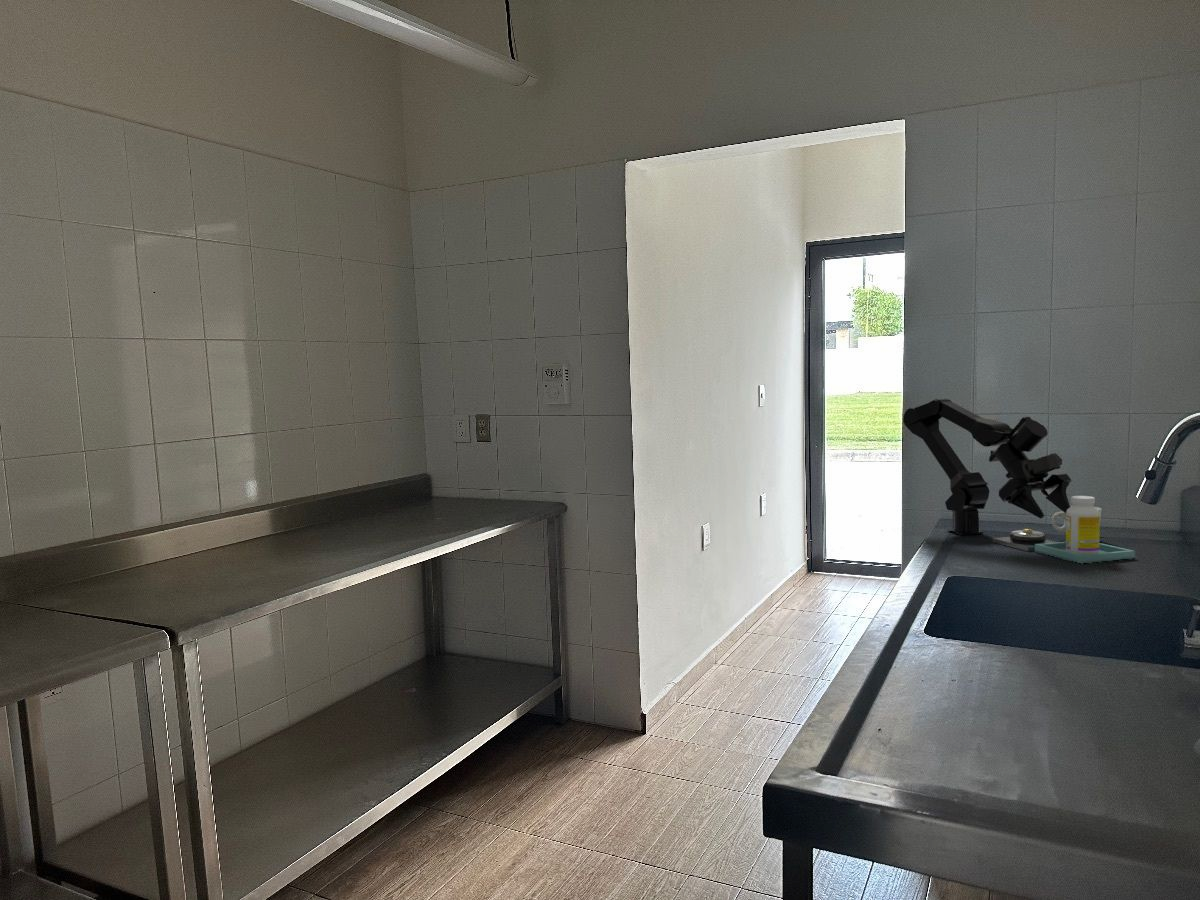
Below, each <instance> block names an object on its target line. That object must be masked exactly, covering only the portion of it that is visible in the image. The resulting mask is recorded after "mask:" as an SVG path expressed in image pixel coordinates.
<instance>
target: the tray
mask: <svg viewBox="0 0 1200 900" xmlns="http://www.w3.org/2000/svg"><path fill="white" fill-rule="evenodd" d="M1054 542H1055V543H1044V544H1035V551H1034V553H1038V554H1041V555H1045V556H1048V555H1050V556H1049V557H1052V556H1054V557H1053V558H1056V557H1057V558H1056V559H1060V558H1061V559H1060V560H1064V561H1068V562H1072V561H1073V562H1072V563H1075V562H1077V563H1076V564H1079V563H1081V565H1084V564H1083V563H1089V564H1092V563H1091V562H1099V563H1101V562H1100V561H1109V560H1117V559H1129V560H1132V559H1131V558H1136V550H1132V549H1129V548H1123V547H1120V546H1115V545H1110V544H1106V543H1103V542H1102V543H1100V542H1099V553H1096V554H1085V555H1081V554H1077V553H1073V552H1069V551H1066V540H1065V541H1054ZM1109 562H1110V561H1109Z"/></svg>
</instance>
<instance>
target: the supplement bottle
mask: <svg viewBox="0 0 1200 900" xmlns="http://www.w3.org/2000/svg"><path fill="white" fill-rule="evenodd" d="M1095 502H1096V498H1095V496H1090V495H1089V496H1088V495H1073V496H1071V497H1070V503H1071V506H1072V507H1070V508H1068V509H1067V511H1066V531H1065V541H1066V551H1069V552H1073V553H1077V554H1081V555H1085V554H1096V553H1099V543H1100V538H1101V537H1100V532H1101V531H1100V526H1101V520H1100V513H1099V511H1098V510H1097V509H1096V508H1094V507H1095V506H1094V505H1095Z"/></svg>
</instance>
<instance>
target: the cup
mask: <svg viewBox="0 0 1200 900" xmlns="http://www.w3.org/2000/svg"><path fill="white" fill-rule="evenodd" d="M1070 507H1072V505H1070ZM1094 508H1096V509H1097V510H1098V511H1099V513H1100V521H1101V517H1102V513H1103V512H1102V511H1103V509H1102V508H1101V507H1097V506H1094ZM1059 517H1062V518H1063V519H1064V520H1063V521H1064V524H1063V525H1062V526H1058V524H1057V518H1059ZM1051 524H1052V526H1053V528H1054V529H1055V530H1057V531H1060V532H1066V513H1065V512H1063V511H1062V510H1061V511H1058V512H1055V513H1054V514H1053V515H1052V518H1051Z"/></svg>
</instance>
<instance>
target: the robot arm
mask: <svg viewBox="0 0 1200 900" xmlns="http://www.w3.org/2000/svg"><path fill="white" fill-rule="evenodd" d="M903 414H904V415H903V417H902V419H903V420H902V422H903V424H904V426H905V427H906V428H907V430H909V432H910V433H912V434H913V435H914V436H916V437H917V438H920V439H921V440H923V442H924V444H925V445H926V446H927V448H928V449H929V450H930V452H931V454H932V455H933V457H934V458H935V460H936V461H937V463H938V464H939V466H940V467H941V468H942V470H943V471H944V473H945V474H946V476H947V477H948V479H949V483H950V485H949V486H950V492H951V493H952V494H951V495H950V496H949V497H948V499H946V501H945V503H944V504H945V508H946V510H948V511H952V529H953V528H954V532H955V533H954V534H958V535H962V536H966V535H967V536H969V535H979V534H984V533H985V532H984V531H983V530H981V529H980V516H979V515H980V514H979V512H980V511H979V510H985V507H986V504H987V502H988V500H989V497H990V489H989V488H990V487H988V485H989V483H988V482H987V481H985V479H984V478H983V476H982V474H981V472H979V471H976V472H975V471H974V472H971V471H969V470H968V469H967V467H966V466H965V464H964V463H963V462H962V461H961V459H960V458H959V456H958V455H957V454H956V452H955V451H954V449H953V448H952V446H951V445H950V444H949V442H948V441H947V439H946V438H945V436H944V435H943V434H942V432H941V430H940V420H941V419H942V418H943V419H946V420H947V421H949V422H951V423H953V424H954V425H957V426H958V427H959V428H962V429H964V430H965V431H968V432H969V434H971V436H972V438H973V440H975V441H976V442H977V443H979V444H980V445H981V446H983V447H986V448H987V447H988V448H989V447H997V448H996V449H995V450H990V453H989V454H990V455H989V457H988V461H989V462H990V463H992V462H999V463H1000V464H1001V465H1002V467H1003V468H1004V469H1005V471H1006V472H1007V473H1006V474H1005V477H1006V478H1007V479H1008V480H1007V481H1006V482H1005V484H1004V485H1002V486H1001V487H1000V489H998V496H999V499H1000V500H1001V501H1002V502H1003V503H1005V502H1007V503H1008V504H1009V505H1010V504H1011V505H1013V506H1016V507H1017V508H1020V509H1022V510H1023V511H1026V512H1028V513H1030V514H1032V515H1033V516H1035V517H1037V518H1039V519H1043V518H1044V517H1045V514H1044V512H1043V510H1042V509H1041V508H1040V506H1039V504H1038V502H1037V501H1036V500H1035V498H1034V497H1033V494H1032V492H1035V491H1036V492H1037V491H1040V492H1041V493H1042V494H1043V495H1045V496H1046V497H1045V499H1047V500H1048V502H1050V503H1052V504H1053V506H1055V507H1056V508H1058V509H1060V510H1061V512H1062V511H1063V512H1065V513H1066V511H1067V509H1068V508H1070V506H1071V505H1070V501H1069V499H1068V494H1067V487H1069V486H1070V483H1071V482H1072V479H1071V477H1070V476H1069V475H1068V474H1067V473H1064V472H1063V473H1061V472H1060V473H1052V474H1051V475H1050V474H1049V472H1052V471H1054V470H1059V469H1061V466H1062V465H1063V459H1062V458H1061V456H1060V455H1058V454H1057V453H1050V454H1046V455H1045V456H1041V457H1039V458H1036V459H1035V458H1034V459H1031V458H1029V457H1028V456H1027V455H1026V453H1030V452H1032V451H1034V449H1035V448H1036V447H1037V446H1038V445H1039V444H1040V443H1041V442H1042V441H1043V440H1044V439H1045V438H1046V437H1047V436H1048V430H1047V428H1046V427H1045V425H1043V424H1042V423H1039V422H1038V421H1036V420H1034V419H1032V417H1030V416H1023V417H1021V419H1020V420H1019V422H1018V423H1017V424H1016V425H1015V426H1014V427H1013V428H1012V427H1011V426H1010V425H1009V424H1007V423H1005V422H1002V421H998V420H996V419H989V418H984V417H981V416H979V415H978V414H975V413H974V412H972V411H970V410H968V409H966V408H965V407H963V406H960V405H959V404H956V403H954V402H952V400H950V399H949V398H935V399H933V400H931V401H930V402H929V401H928V402H927V403H925V404H924V403H923V404H922V405H918V406H916V407H909V408H907V409H906V410H905V412H904V413H903ZM1049 475H1050V476H1049ZM1047 477H1048V478H1047ZM1045 478H1047V479H1046V480H1044V479H1045Z"/></svg>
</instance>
